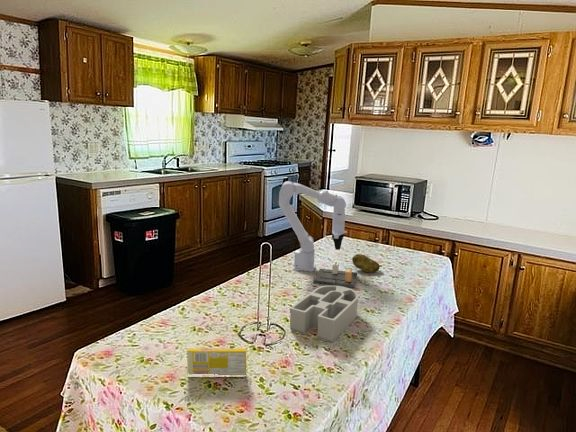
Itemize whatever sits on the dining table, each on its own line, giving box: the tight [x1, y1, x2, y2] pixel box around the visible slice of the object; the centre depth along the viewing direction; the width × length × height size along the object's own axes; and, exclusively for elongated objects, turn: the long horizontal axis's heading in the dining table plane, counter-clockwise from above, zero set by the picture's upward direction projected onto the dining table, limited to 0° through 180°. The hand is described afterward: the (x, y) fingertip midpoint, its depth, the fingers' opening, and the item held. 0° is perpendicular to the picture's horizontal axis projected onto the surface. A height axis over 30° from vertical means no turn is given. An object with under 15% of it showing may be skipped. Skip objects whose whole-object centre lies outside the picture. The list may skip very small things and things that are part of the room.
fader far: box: [331, 261, 340, 274], centre depth 194 cm, size 2×4×5 cm, turn 165°
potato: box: [351, 253, 380, 273], centre depth 202 cm, size 8×13×8 cm, turn 61°
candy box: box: [186, 347, 247, 376], centre depth 115 cm, size 16×2×8 cm, turn 92°
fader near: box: [345, 268, 353, 282], centre depth 185 cm, size 2×4×5 cm, turn 165°
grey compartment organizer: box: [289, 285, 359, 344], centre depth 149 cm, size 17×28×9 cm, turn 150°
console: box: [312, 268, 358, 289], centre depth 191 cm, size 18×16×2 cm
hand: (337, 249), depth 201 cm, fingers closed
